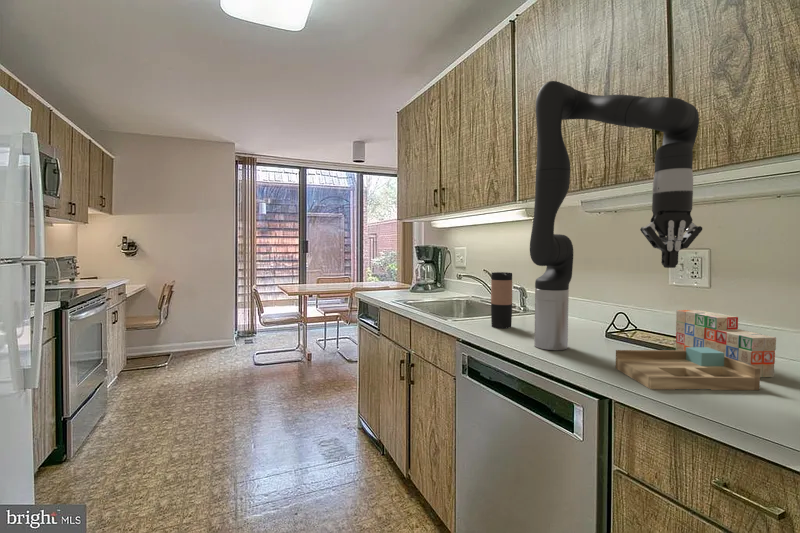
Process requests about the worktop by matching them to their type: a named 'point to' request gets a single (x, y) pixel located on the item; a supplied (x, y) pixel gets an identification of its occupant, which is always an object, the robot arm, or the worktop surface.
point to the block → (704, 356)
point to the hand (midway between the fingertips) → (669, 267)
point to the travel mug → (501, 300)
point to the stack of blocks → (725, 338)
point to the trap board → (685, 371)
